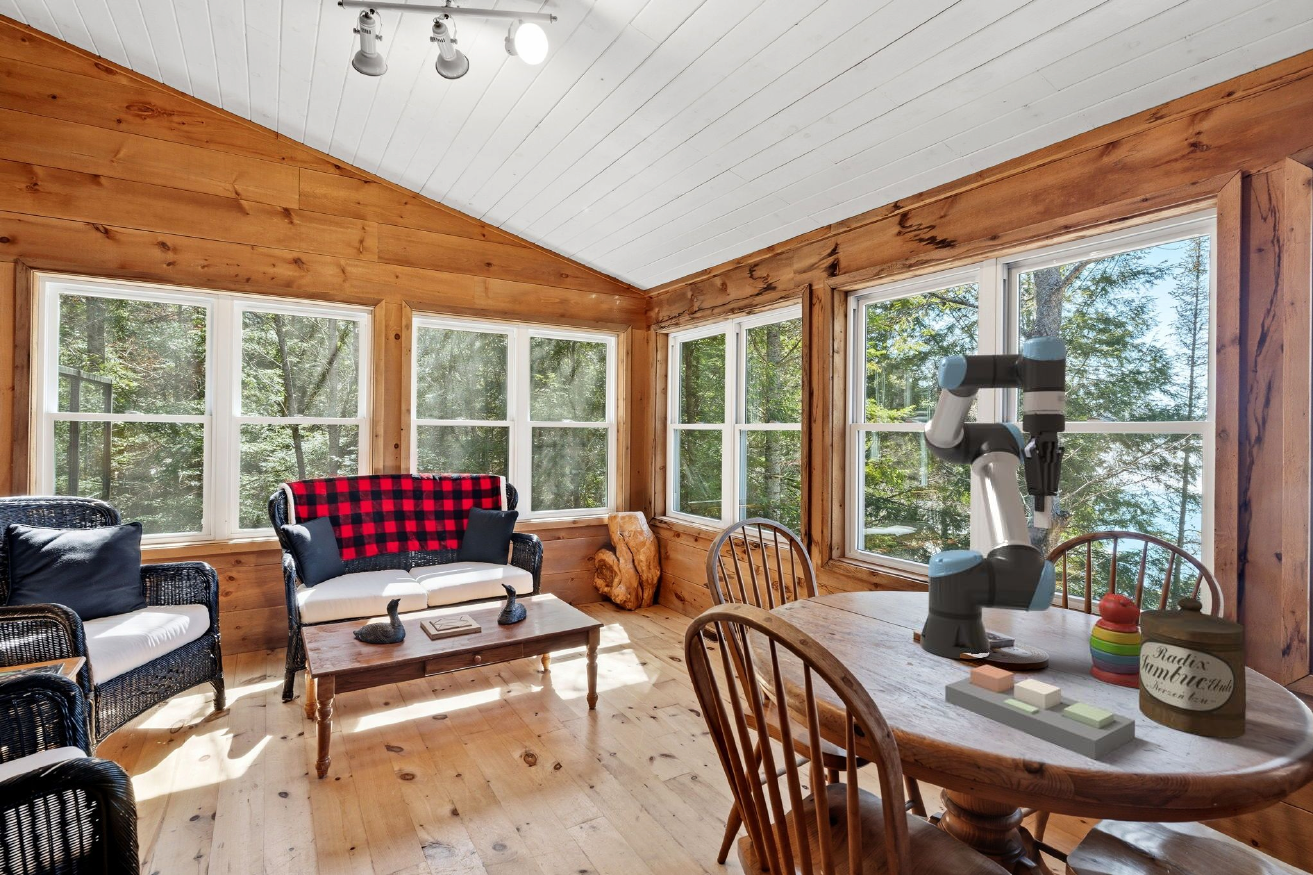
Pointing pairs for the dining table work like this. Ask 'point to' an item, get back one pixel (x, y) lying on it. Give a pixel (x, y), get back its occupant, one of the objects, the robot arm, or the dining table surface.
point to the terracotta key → (992, 678)
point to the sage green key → (1089, 715)
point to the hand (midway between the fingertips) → (1042, 527)
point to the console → (1042, 719)
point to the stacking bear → (1116, 642)
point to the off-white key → (1037, 694)
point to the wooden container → (1193, 671)
